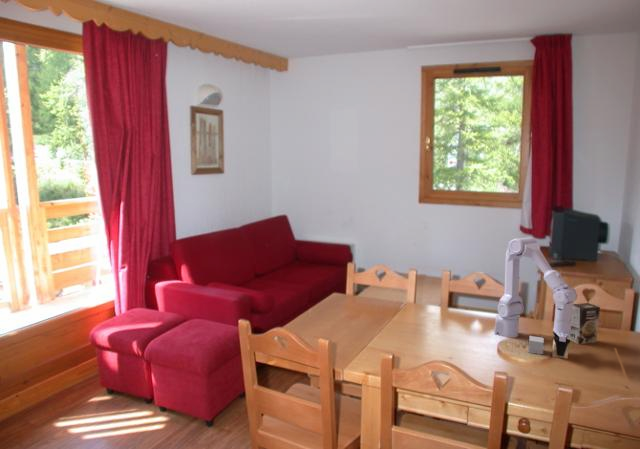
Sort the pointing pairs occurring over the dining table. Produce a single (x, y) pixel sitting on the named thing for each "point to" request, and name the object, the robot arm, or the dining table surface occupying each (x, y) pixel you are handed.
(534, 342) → the grey block
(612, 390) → the dining table surface
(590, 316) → the coffee box
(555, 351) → the maple block
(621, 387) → the dining table surface
